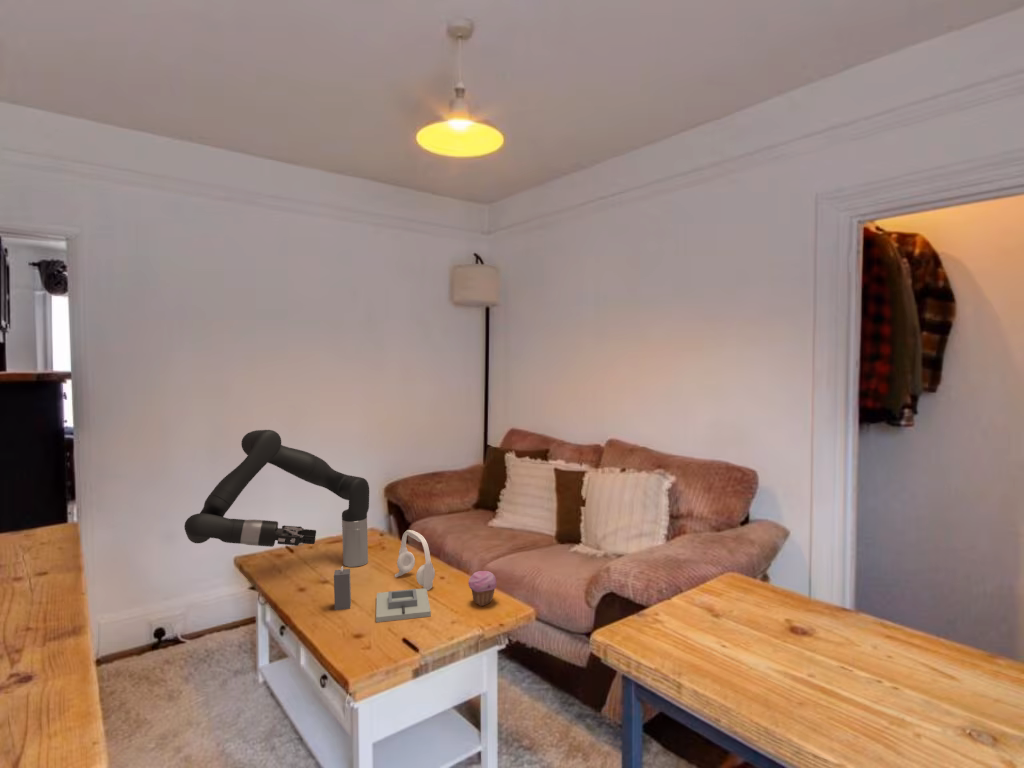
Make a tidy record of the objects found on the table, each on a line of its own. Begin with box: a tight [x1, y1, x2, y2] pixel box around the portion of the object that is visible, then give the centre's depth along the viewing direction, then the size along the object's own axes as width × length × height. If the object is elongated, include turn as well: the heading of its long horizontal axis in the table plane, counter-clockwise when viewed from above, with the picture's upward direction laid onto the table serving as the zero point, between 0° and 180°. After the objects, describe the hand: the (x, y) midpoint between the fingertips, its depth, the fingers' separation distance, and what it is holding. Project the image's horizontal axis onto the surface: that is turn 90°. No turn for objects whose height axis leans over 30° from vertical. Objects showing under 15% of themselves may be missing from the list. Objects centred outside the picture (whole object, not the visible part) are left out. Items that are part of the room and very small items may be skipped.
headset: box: [394, 529, 436, 592], centre depth 197 cm, size 20×7×18 cm, turn 36°
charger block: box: [333, 565, 352, 611], centre depth 179 cm, size 5×5×12 cm
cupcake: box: [468, 570, 497, 607], centre depth 180 cm, size 9×9×10 cm
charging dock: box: [375, 587, 432, 623], centre depth 178 cm, size 18×16×4 cm
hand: (315, 537), depth 176 cm, fingers open, 8 cm apart
